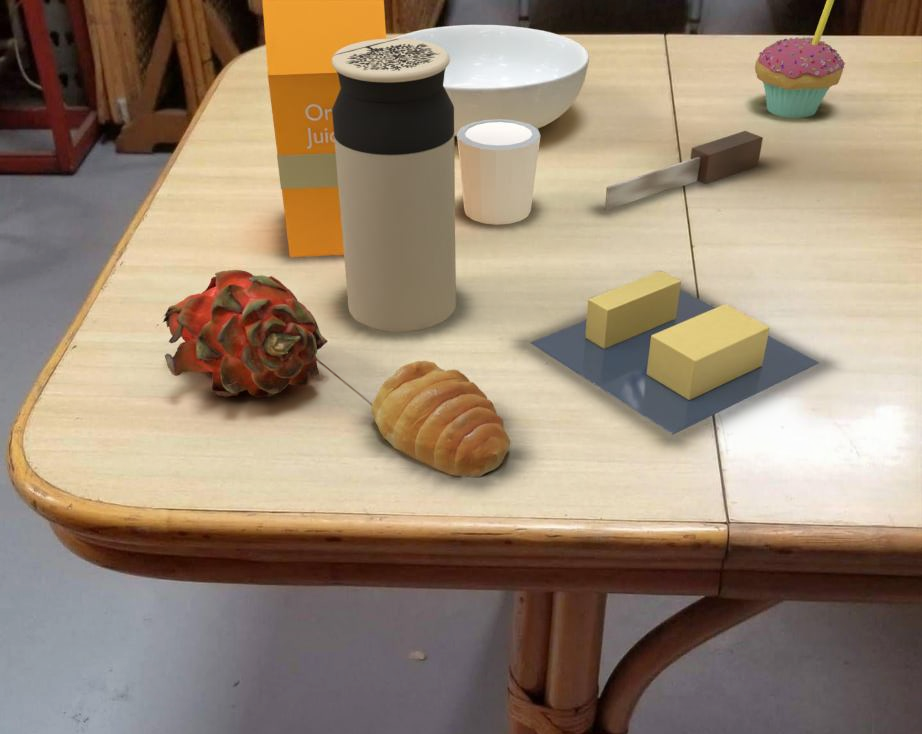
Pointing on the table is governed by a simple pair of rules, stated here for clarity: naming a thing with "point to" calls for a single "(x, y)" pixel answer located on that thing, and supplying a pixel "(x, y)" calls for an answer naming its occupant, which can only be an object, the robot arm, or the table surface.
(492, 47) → the serving bowl
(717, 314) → the butter block
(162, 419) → the table surface
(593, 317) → the butter slice
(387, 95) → the travel mug
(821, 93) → the cupcake
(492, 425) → the pastry
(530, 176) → the cup of milk
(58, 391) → the table surface
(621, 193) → the knife
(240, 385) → the dragon fruit
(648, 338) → the butter dish
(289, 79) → the orange juice
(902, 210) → the table surface
